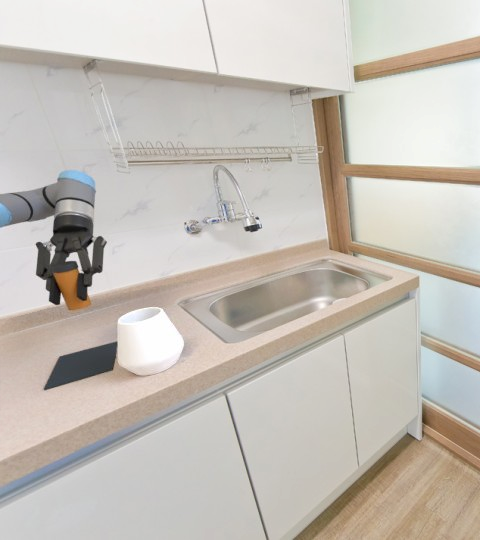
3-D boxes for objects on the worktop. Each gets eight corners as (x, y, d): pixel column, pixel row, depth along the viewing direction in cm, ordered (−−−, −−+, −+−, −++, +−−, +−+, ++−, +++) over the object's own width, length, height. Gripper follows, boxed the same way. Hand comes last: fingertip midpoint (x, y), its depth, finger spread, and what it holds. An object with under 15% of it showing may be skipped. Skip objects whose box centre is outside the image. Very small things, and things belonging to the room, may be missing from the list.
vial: (69, 305, 84) (51, 263, 80) (93, 300, 87) (77, 259, 83) (65, 312, 81) (46, 268, 77) (91, 307, 83) (74, 264, 79)
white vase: (109, 375, 79) (89, 324, 74) (163, 345, 91) (148, 300, 86) (149, 386, 75) (130, 333, 70) (200, 353, 87) (187, 306, 82)
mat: (60, 357, 87) (59, 356, 87) (118, 342, 93) (117, 341, 93) (44, 390, 75) (43, 388, 75) (112, 370, 81) (112, 368, 81)
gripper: (121, 225, 94) (120, 299, 86) (40, 232, 88) (30, 313, 79) (108, 209, 88) (105, 287, 80) (20, 216, 82) (7, 302, 73)
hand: (68, 300), depth 79 cm, fingers closed on vial, 4 cm apart
